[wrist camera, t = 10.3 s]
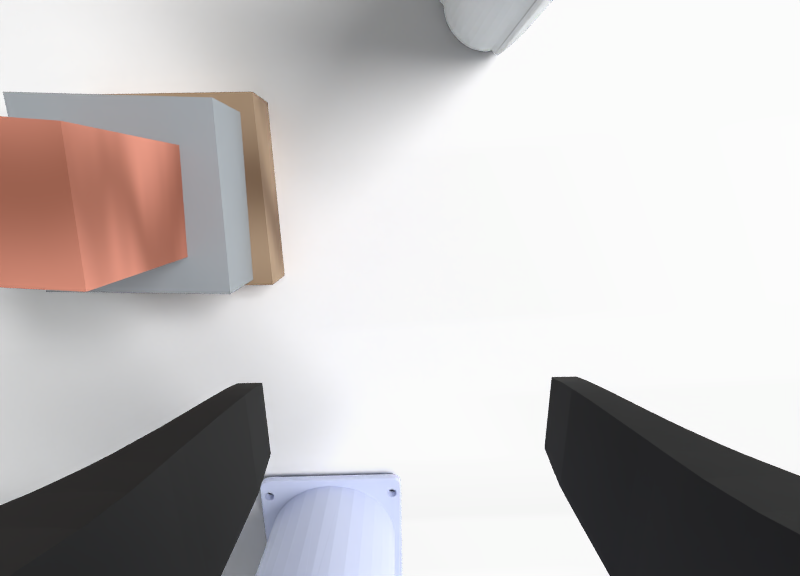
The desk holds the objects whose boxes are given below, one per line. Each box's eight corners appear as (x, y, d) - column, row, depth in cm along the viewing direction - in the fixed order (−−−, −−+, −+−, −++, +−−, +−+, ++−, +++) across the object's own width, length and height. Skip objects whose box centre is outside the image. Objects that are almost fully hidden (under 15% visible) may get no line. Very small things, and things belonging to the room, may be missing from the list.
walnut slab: (287, 272, 20) (272, 284, 17) (131, 276, 20) (94, 288, 17) (271, 105, 18) (252, 91, 15) (97, 108, 18) (50, 95, 15)
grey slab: (253, 279, 17) (230, 294, 15) (95, 277, 17) (46, 291, 15) (240, 112, 15) (212, 97, 13) (64, 107, 15) (3, 91, 13)
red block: (187, 256, 14) (86, 291, 10) (78, 250, 14) (-82, 283, 9) (179, 145, 13) (60, 120, 9) (61, 137, 13) (-129, 107, 8)
